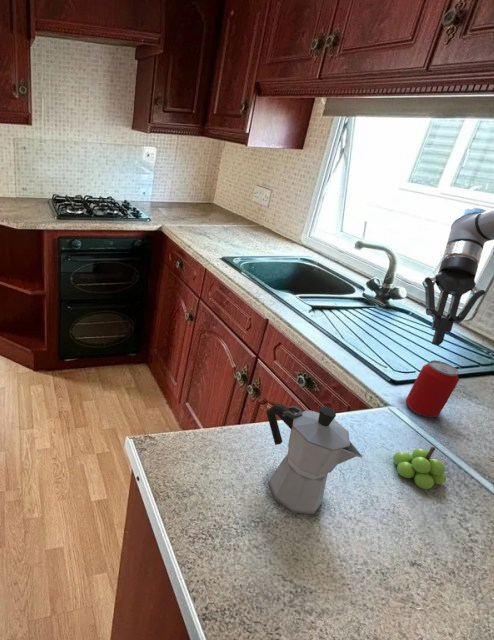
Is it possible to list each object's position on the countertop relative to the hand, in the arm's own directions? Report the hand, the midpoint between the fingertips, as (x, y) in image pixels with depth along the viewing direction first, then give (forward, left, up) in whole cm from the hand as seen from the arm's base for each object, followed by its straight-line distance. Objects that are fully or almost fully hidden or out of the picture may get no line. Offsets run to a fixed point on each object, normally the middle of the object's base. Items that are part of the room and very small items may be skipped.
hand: (437, 342), depth 100 cm
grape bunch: (+2, +39, -12) cm, 40 cm away
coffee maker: (+22, +57, -12) cm, 62 cm away
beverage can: (0, +14, -12) cm, 18 cm away
